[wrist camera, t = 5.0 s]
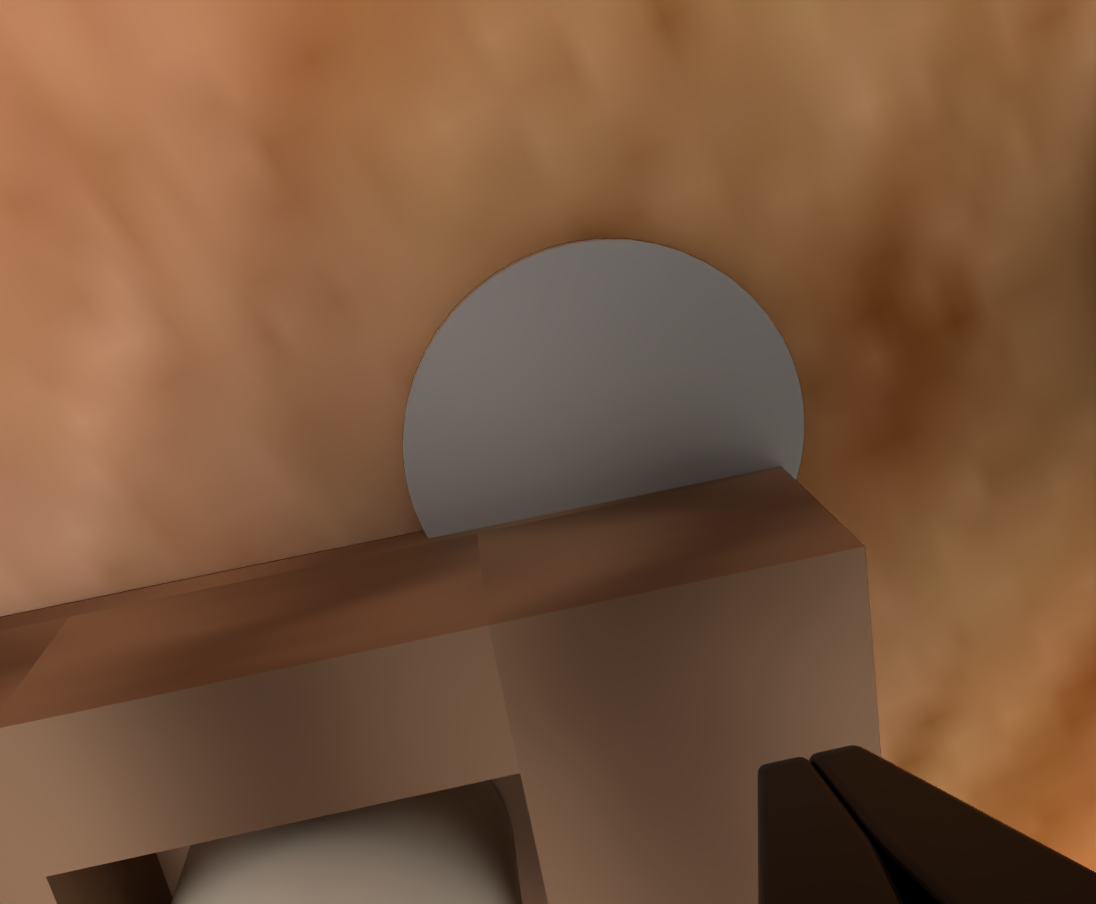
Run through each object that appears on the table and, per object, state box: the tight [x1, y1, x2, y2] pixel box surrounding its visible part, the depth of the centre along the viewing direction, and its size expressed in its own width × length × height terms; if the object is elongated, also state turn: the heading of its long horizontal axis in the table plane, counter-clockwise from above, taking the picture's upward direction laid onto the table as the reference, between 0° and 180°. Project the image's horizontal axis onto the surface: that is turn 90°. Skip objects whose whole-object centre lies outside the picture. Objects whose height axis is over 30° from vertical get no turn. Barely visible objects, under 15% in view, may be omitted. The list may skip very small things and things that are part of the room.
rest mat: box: [403, 238, 804, 539], centre depth 18 cm, size 7×7×1 cm
